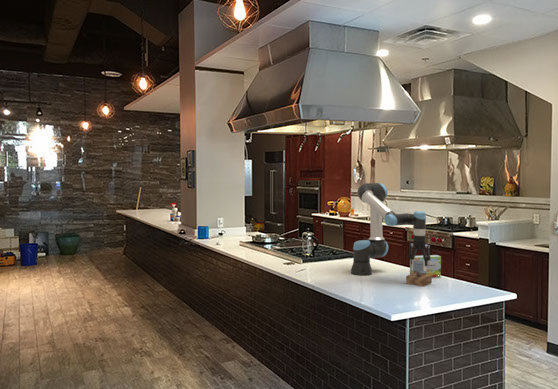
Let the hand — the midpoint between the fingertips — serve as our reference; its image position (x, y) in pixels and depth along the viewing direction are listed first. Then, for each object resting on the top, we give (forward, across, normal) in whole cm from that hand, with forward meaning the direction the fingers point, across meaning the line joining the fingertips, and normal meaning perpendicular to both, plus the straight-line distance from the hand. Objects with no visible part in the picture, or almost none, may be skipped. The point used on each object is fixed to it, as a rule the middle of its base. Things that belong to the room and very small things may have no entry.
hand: (419, 270), depth 316 cm
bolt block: (+9, 0, 0) cm, 9 cm away
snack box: (+9, -5, +21) cm, 24 cm away
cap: (0, 0, 0) cm, 0 cm away
